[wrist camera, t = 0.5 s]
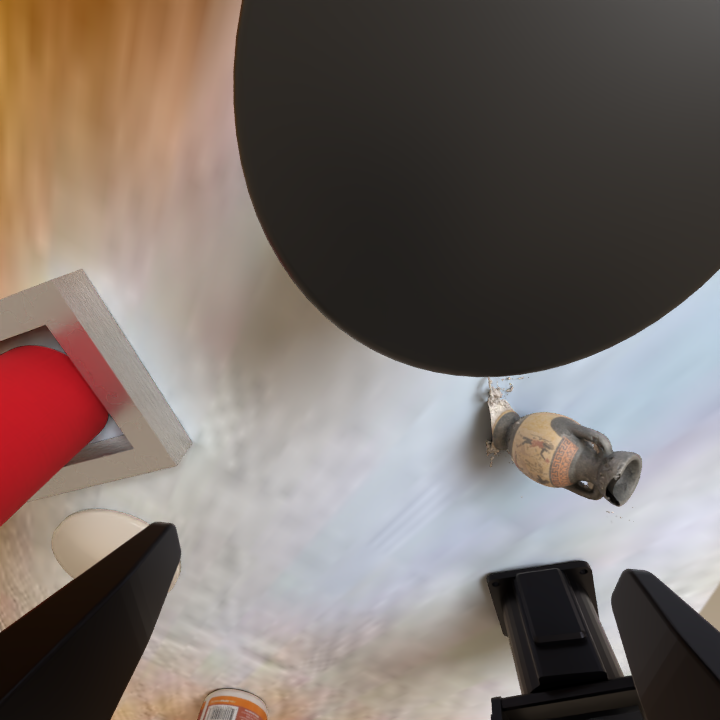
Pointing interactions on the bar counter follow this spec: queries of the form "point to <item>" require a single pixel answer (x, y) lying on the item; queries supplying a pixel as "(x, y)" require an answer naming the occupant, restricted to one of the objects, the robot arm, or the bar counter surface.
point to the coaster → (94, 538)
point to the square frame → (100, 383)
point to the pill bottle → (232, 706)
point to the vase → (562, 452)
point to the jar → (484, 169)
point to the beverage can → (41, 420)
